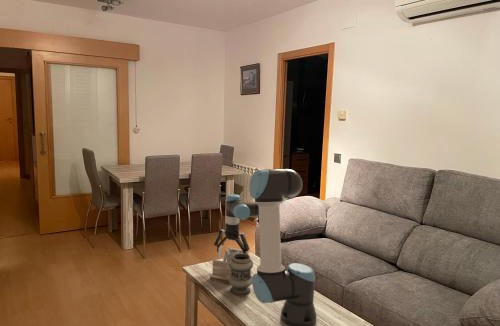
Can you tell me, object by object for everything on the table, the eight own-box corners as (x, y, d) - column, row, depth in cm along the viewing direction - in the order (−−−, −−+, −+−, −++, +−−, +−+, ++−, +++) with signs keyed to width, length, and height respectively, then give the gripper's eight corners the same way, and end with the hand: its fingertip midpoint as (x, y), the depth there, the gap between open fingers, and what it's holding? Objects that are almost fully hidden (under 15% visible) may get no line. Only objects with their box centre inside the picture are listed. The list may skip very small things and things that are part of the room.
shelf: (230, 284, 181) (231, 266, 180) (209, 279, 185) (210, 262, 184) (249, 265, 205) (250, 249, 204) (230, 261, 209) (231, 245, 208)
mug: (242, 267, 198) (243, 247, 196) (228, 274, 188) (229, 253, 187) (231, 264, 202) (232, 243, 201) (217, 270, 193) (218, 249, 191)
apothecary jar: (223, 289, 176) (224, 254, 173) (242, 282, 183) (243, 249, 181) (237, 299, 166) (239, 263, 164) (257, 292, 174) (259, 257, 172)
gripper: (256, 224, 190) (254, 262, 193) (214, 217, 199) (213, 253, 202) (251, 228, 184) (249, 267, 186) (208, 221, 192) (207, 258, 195)
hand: (231, 260), depth 194 cm, fingers open, 13 cm apart
